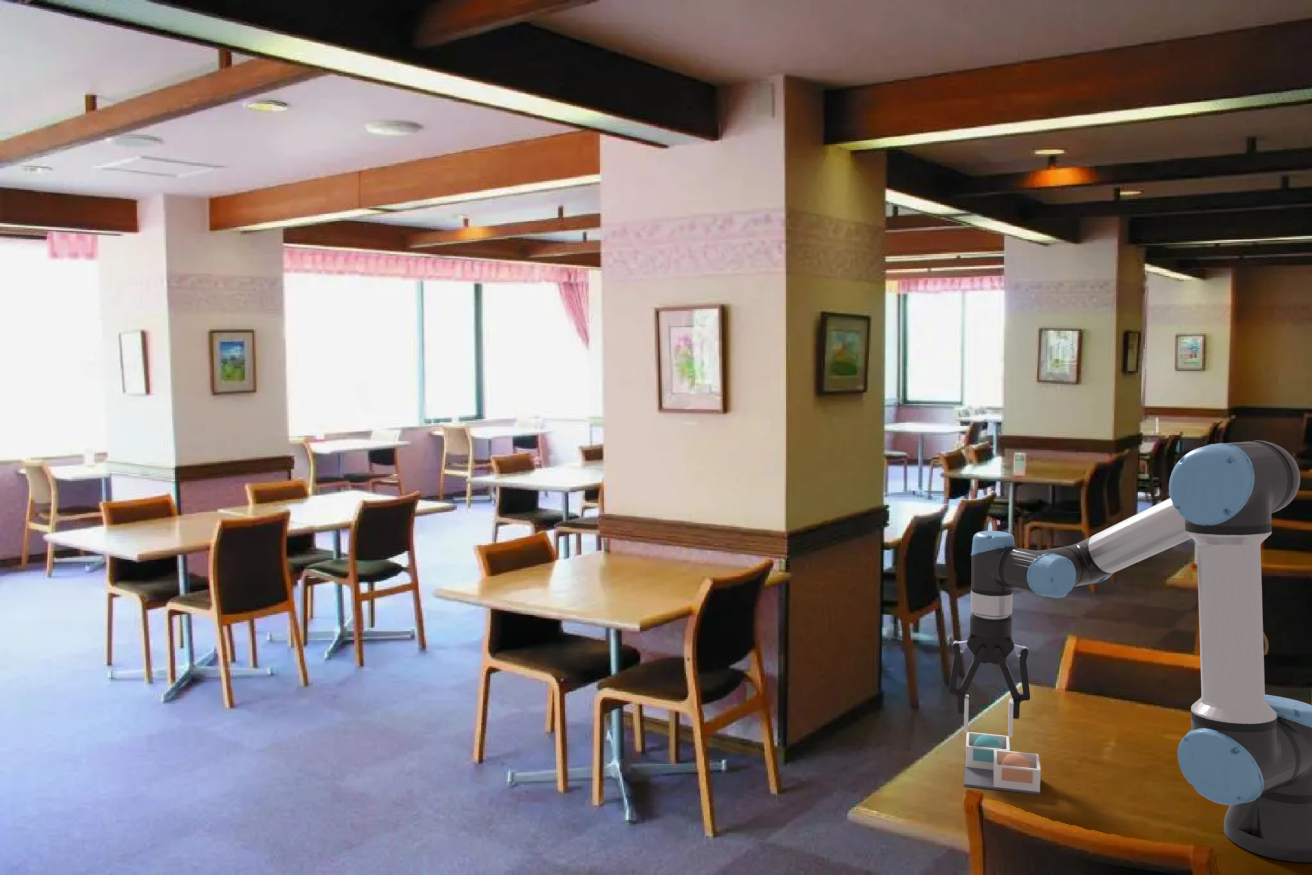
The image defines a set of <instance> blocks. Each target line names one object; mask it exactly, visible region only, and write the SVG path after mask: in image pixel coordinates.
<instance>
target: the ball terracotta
mask: <svg viewBox="0 0 1312 875" xmlns="http://www.w3.org/2000/svg"><path fill="white" fill-rule="evenodd" d="M1001 765H1006V766H1016V767H1025V768H1030V765H1029V763H1028V761H1027V759H1026V758H1025V757H1023V756H1022V755H1020V754H1016V753H1013V754H1009V755H1007V756H1006V757H1005V758H1004V759H1003V760H1002V763H1001Z"/></svg>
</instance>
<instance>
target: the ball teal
mask: <svg viewBox="0 0 1312 875" xmlns="http://www.w3.org/2000/svg"><path fill="white" fill-rule="evenodd" d="M974 746H978V747H988V748H997V749H1001V746H1000V743H999V741H998V740H997V739H996V738H995V737H993V736H991V735H981V736H979V737H978V738H977V739H976V740H975V742H974Z"/></svg>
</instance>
